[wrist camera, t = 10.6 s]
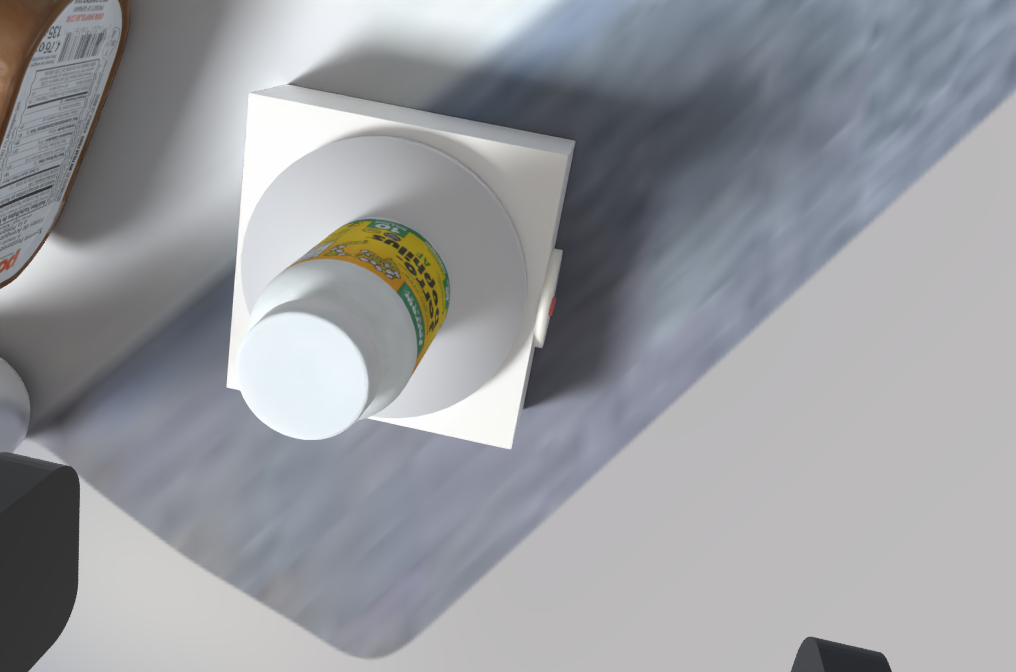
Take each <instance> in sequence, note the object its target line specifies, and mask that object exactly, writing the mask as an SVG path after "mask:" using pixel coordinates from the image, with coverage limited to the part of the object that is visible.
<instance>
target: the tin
mask: <svg viewBox="0 0 1016 672" xmlns="http://www.w3.org/2000/svg"><path fill="white" fill-rule="evenodd" d="M129 21H130V1H129V0H0V289H1V288H3V287H4V286H6V285H8V284H9V283H11V282H12V281H13V280H15V279H16V278H17V277H18V276H19V275H20V274H21V273H22V272H23V270H24V269H25V268H26V267H27V266H28V265H29V263H30V262H31V261H32V260H33V258H34V257H35V256H36V254H37V253H38V251H39V250H40V249H41V247H42V246H43V244H44V243H45V241H46V239H47V238H48V236H49V234H50V233H51V231H52V229H53V227H54V226H55V224H56V222H57V220H58V218H59V216H60V213H61V211H62V209H63V206H64V204H65V201H66V199H67V196H68V194H69V192H70V189H71V187H72V184H73V181H74V179H75V176H76V174H77V171H78V169H79V166H80V164H81V161H82V159H83V156H84V154H85V151H86V149H87V146H88V144H89V141H90V138H91V136H92V133H93V131H94V128H95V125H96V123H97V120H98V118H99V115H100V113H101V110H102V107H103V105H104V102H105V100H106V97H107V94H108V92H109V89H110V86H111V84H112V81H113V78H114V76H115V73H116V70H117V68H118V65H119V62H120V59H121V56H122V53H123V50H124V47H125V43H126V39H127V34H128V29H129Z"/></svg>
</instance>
